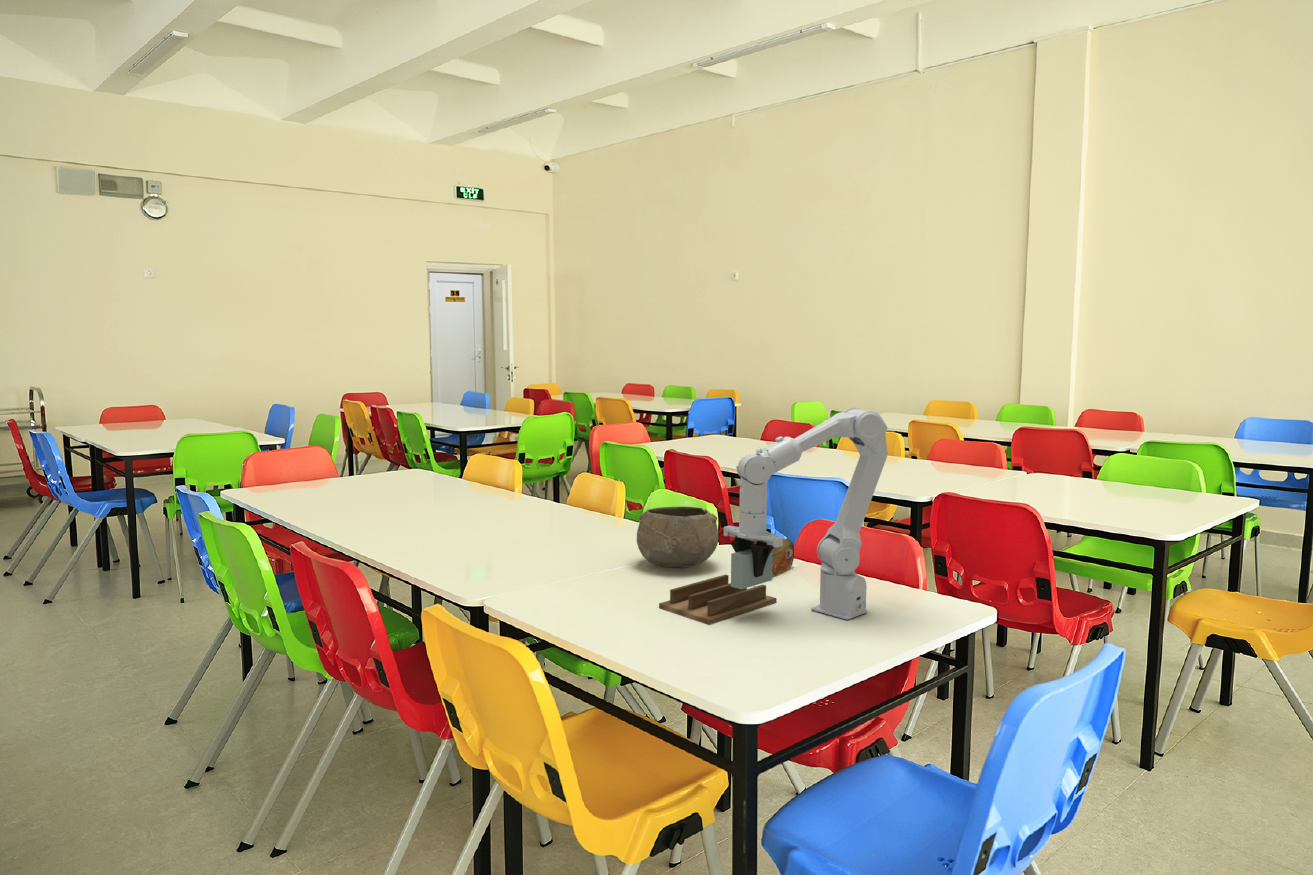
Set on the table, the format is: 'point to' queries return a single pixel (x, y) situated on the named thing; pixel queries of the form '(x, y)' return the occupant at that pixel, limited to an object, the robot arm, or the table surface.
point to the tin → (782, 558)
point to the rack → (715, 600)
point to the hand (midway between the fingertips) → (751, 574)
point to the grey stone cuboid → (748, 570)
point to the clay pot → (677, 536)
